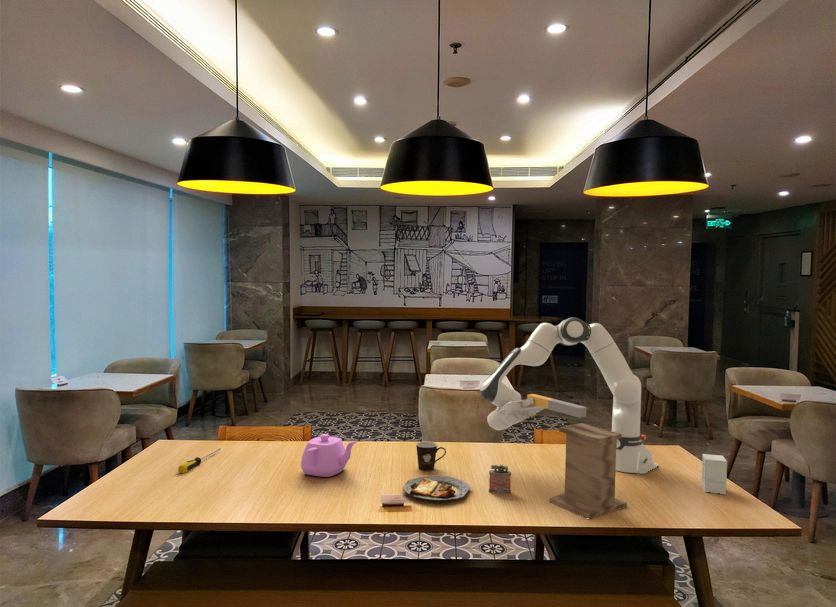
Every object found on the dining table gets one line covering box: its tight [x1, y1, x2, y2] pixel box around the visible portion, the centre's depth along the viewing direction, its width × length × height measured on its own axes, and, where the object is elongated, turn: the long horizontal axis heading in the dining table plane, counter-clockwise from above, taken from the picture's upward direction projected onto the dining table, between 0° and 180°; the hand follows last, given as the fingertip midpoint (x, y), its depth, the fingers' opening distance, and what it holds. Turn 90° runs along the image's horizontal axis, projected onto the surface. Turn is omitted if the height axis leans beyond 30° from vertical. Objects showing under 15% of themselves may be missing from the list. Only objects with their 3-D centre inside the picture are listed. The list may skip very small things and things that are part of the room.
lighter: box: [488, 464, 512, 495], centre depth 206 cm, size 8×3×10 cm, turn 84°
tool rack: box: [549, 422, 628, 519], centre depth 196 cm, size 20×17×26 cm
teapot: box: [300, 433, 358, 478], centre depth 222 cm, size 23×21×15 cm
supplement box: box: [701, 453, 728, 495], centre depth 211 cm, size 7×7×13 cm
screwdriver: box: [177, 448, 221, 474], centre depth 235 cm, size 3×3×30 cm
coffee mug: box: [415, 440, 447, 472], centre depth 230 cm, size 12×9×10 cm
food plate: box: [402, 475, 471, 502], centre depth 205 cm, size 25×23×4 cm
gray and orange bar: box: [526, 393, 587, 419], centre depth 208 cm, size 3×26×3 cm, turn 33°
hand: (538, 399), depth 216 cm, fingers closed on gray and orange bar, 3 cm apart
